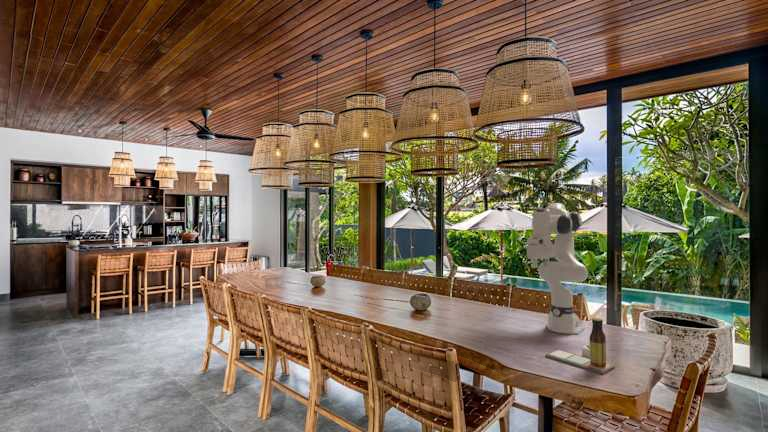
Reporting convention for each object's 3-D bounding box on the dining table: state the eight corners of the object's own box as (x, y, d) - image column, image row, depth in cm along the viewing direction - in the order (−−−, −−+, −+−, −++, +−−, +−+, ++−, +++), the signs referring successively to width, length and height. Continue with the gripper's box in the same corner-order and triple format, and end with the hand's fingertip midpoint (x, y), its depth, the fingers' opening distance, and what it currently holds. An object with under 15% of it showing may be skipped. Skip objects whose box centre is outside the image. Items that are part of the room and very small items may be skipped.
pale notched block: (586, 355, 182) (586, 344, 182) (596, 357, 179) (596, 347, 179) (581, 357, 180) (582, 346, 180) (591, 360, 176) (592, 349, 176)
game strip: (558, 351, 187) (558, 348, 186) (614, 368, 167) (614, 365, 167) (545, 356, 179) (545, 354, 179) (602, 374, 159) (602, 371, 159)
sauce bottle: (600, 362, 170) (601, 317, 170) (609, 367, 164) (610, 321, 164) (586, 362, 170) (586, 317, 170) (594, 367, 164) (595, 321, 164)
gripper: (546, 239, 206) (545, 265, 206) (524, 240, 193) (524, 267, 193) (557, 239, 201) (557, 266, 201) (536, 241, 188) (535, 269, 188)
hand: (540, 267), depth 197 cm, fingers open, 8 cm apart
